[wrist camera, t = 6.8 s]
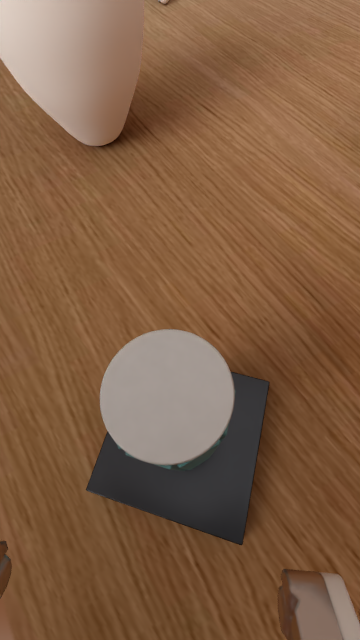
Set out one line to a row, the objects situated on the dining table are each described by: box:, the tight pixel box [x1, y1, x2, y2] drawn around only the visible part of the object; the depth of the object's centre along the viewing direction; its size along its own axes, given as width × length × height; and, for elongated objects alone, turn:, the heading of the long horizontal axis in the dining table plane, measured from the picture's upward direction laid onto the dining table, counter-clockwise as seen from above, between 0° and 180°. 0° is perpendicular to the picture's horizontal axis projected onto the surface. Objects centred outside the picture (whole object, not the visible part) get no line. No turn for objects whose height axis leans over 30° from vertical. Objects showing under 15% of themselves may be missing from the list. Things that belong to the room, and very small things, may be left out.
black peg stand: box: [86, 372, 269, 545], centre depth 19 cm, size 10×10×7 cm
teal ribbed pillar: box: [100, 329, 236, 471], centre depth 15 cm, size 4×4×12 cm
